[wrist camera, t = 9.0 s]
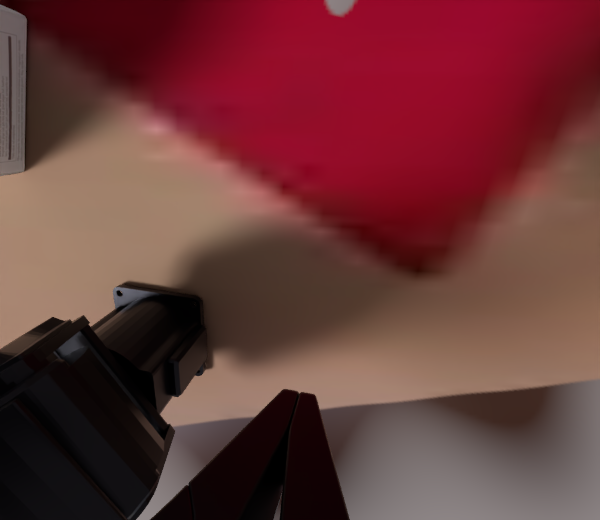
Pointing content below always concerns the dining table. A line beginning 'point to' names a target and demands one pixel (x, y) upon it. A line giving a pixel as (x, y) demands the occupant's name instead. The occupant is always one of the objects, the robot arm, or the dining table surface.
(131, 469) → the robot arm
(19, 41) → the supplement box
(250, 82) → the dining table surface
